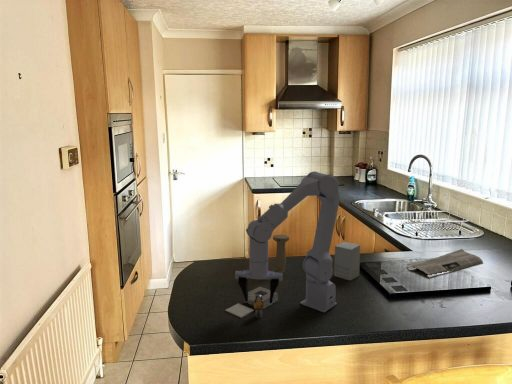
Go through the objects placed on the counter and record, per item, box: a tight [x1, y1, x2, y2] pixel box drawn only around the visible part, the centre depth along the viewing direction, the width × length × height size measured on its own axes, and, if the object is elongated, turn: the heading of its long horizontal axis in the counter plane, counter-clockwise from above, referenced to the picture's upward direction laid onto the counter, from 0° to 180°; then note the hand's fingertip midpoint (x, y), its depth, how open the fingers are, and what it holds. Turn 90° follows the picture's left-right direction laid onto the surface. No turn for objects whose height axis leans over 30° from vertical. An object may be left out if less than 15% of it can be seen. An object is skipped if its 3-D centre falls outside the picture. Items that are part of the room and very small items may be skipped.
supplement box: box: [333, 241, 361, 281], centre depth 153 cm, size 7×7×13 cm
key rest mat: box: [225, 302, 255, 319], centre depth 126 cm, size 7×6×1 cm
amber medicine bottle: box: [253, 294, 265, 319], centre depth 122 cm, size 3×3×7 cm
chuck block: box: [243, 286, 279, 310], centre depth 132 cm, size 8×8×3 cm
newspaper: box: [406, 248, 484, 275], centre depth 164 cm, size 35×12×4 cm, turn 118°
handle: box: [272, 234, 290, 274], centre depth 157 cm, size 5×6×15 cm
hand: (258, 300), depth 122 cm, fingers open, 7 cm apart
